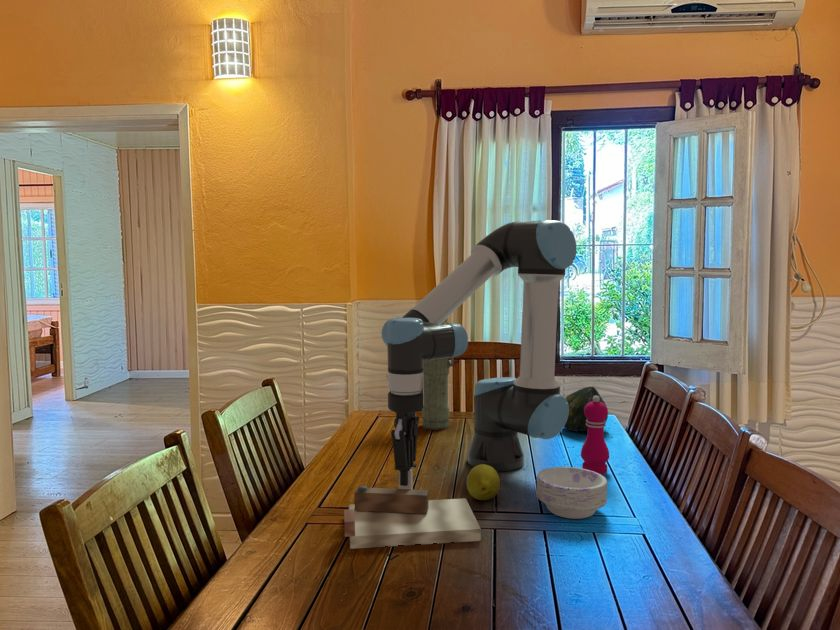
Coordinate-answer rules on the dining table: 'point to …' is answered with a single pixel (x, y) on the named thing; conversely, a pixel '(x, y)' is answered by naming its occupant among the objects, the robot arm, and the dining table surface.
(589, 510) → the paper bowls
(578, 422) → the squash
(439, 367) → the thermos
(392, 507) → the walnut leg
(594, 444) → the pepper mill
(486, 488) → the lemon
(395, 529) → the stool seat
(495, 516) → the dining table surface
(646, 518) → the dining table surface
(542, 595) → the dining table surface
